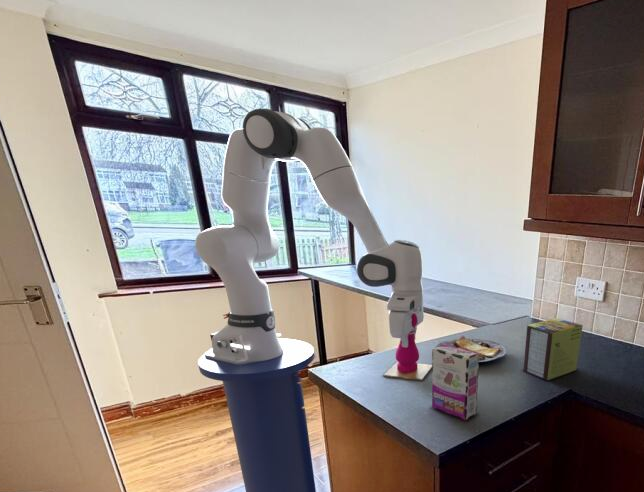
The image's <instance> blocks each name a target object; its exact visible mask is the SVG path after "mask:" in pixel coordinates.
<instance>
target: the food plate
mask: <svg viewBox="0 0 644 492" xmlns="http://www.w3.org/2000/svg"><path fill="white" fill-rule="evenodd" d="M444 344H445V345H448V346H452V347H456V348H460V349H464V350H468V351H471V352H475V353H479V363H483V362H490V361H494V360H497V359H500V358H502V357H504V356H506V354H507V348H506V347H504V346H503V345H502V344H500V343H497V342H496V341H491V340H485V339H480V338H467V337H465V336H464V335H462V336H460V337H459V338H458V339H457V338H456V339H450V340H446V341H445V340H444V341H442V342H440V343H438V344H437V345H436V346H435V347H438V346H441V345H444Z"/></svg>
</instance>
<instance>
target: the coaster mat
mask: <svg viewBox="0 0 644 492" xmlns="http://www.w3.org/2000/svg"><path fill="white" fill-rule="evenodd" d="M397 363H398V361H396V362H395V363H394V364H393V365H392V366H391V367H389V369H388V370H387V371H386V372H385V373H384V374H383V377H385V378H395V379H404V380H411V381H412V380H414V381H424V379H425V377H426V376H427V375H428V374H429V373H430V371H431V370H432V364H429V363H419V362H418V363H417V362H416V363H417V370H416V371H415V372H411V373H403V372H400V371H398V370H397Z"/></svg>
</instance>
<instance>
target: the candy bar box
mask: <svg viewBox="0 0 644 492" xmlns="http://www.w3.org/2000/svg"><path fill="white" fill-rule="evenodd" d="M431 350H432V351H431V357H432V360H431V361H432V362H431V365H432V368H431V370H432V372H431V378H432V380H431V383H432V384H431V386H432V387H431V388H432V389H431V390H432V391H431V398H432V399H431V407H432V409H435V410H438V411H440V412H443V413H445V414H448V415H451V416H453V417H456V418H458V419H461V420H464V421H467V420H469V419H470V418H472V417H474V416H476V415H477V411H478V390H479V389H478V387H479V385H478V384H479V366H480V365H479V364H480V362H479V353H475V352H471V351H468V350H464V349H460V348H456V347H452V346H448V345H445V344H444V345H441V346H438V347H436V346H434V347H433V348H431Z"/></svg>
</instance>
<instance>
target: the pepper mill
mask: <svg viewBox="0 0 644 492" xmlns="http://www.w3.org/2000/svg"><path fill="white" fill-rule="evenodd" d="M411 318H412V326H413V327H414V329H413V330H412V331H411V332H410V333H408V340H409V346H408V347H402V341H401V339H400V338H399V339H400V340H399V344H398V345H397V348H396V351H395V357H394V358H395V360H396V362H398V363H397V370H398V371H400V372H403V373H411V372H415V371H416V370H417V362H418V361H419V359H420V352H419V348H418V347H417V344H416V338H415V339H414V333H416V334H417V330H416V328H415V326H416V325H417V323H418V319H417V316H416V314H414V313H413V314H412V316H411Z"/></svg>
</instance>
